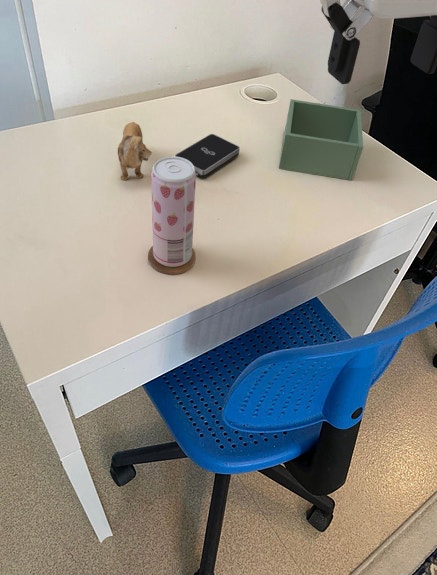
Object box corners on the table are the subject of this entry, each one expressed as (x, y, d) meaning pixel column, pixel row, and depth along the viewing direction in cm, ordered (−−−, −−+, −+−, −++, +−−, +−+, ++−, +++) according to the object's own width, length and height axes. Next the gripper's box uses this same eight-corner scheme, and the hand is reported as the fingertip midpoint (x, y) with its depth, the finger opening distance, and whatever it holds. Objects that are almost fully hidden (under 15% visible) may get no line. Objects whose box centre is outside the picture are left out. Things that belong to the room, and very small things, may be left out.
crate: (350, 142, 100) (360, 109, 95) (352, 180, 91) (363, 146, 86) (284, 131, 101) (290, 99, 96) (278, 168, 91) (285, 134, 86)
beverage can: (172, 236, 76) (173, 150, 65) (199, 254, 73) (206, 168, 62) (144, 254, 72) (141, 166, 61) (172, 274, 70) (174, 186, 59)
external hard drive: (173, 165, 89) (173, 155, 88) (211, 142, 96) (212, 132, 94) (203, 181, 87) (203, 171, 85) (240, 156, 93) (241, 147, 92)
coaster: (199, 246, 75) (199, 243, 75) (190, 278, 71) (190, 275, 70) (154, 238, 76) (154, 235, 75) (142, 270, 71) (142, 267, 71)
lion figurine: (153, 190, 84) (152, 143, 77) (122, 192, 83) (118, 145, 76) (142, 143, 94) (140, 98, 87) (113, 145, 92) (110, 99, 86)
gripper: (378, -159, 31) (322, 100, 44) (578, -151, 36) (476, 80, 49) (321, -172, 36) (285, 65, 48) (504, -164, 41) (428, 50, 53)
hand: (380, 73), depth 49 cm, fingers open, 9 cm apart
